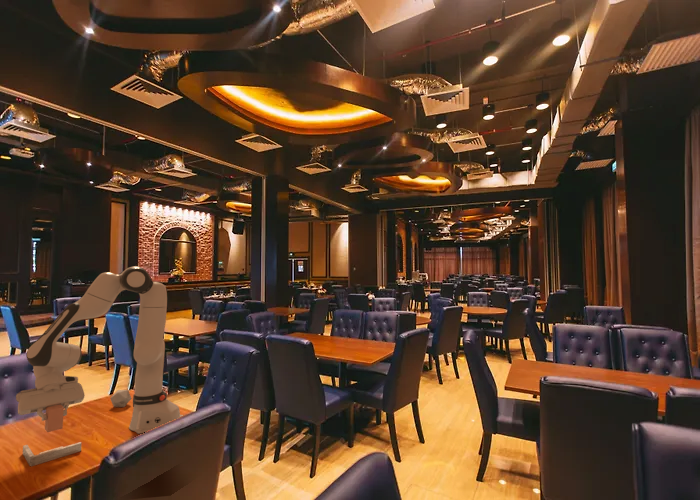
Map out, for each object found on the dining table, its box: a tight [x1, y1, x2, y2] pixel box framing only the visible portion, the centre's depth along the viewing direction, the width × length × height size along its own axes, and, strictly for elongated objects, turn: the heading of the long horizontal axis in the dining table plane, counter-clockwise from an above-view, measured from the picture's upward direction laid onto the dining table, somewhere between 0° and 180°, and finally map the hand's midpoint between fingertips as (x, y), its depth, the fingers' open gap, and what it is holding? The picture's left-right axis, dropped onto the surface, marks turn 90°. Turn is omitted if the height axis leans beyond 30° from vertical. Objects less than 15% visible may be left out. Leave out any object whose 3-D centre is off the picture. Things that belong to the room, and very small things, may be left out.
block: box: [44, 404, 65, 433], centre depth 141 cm, size 4×4×8 cm
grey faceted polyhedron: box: [109, 389, 133, 408], centre depth 189 cm, size 8×9×10 cm
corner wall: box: [22, 441, 82, 467], centre depth 141 cm, size 14×15×3 cm
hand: (54, 417), depth 141 cm, fingers closed on block, 4 cm apart
